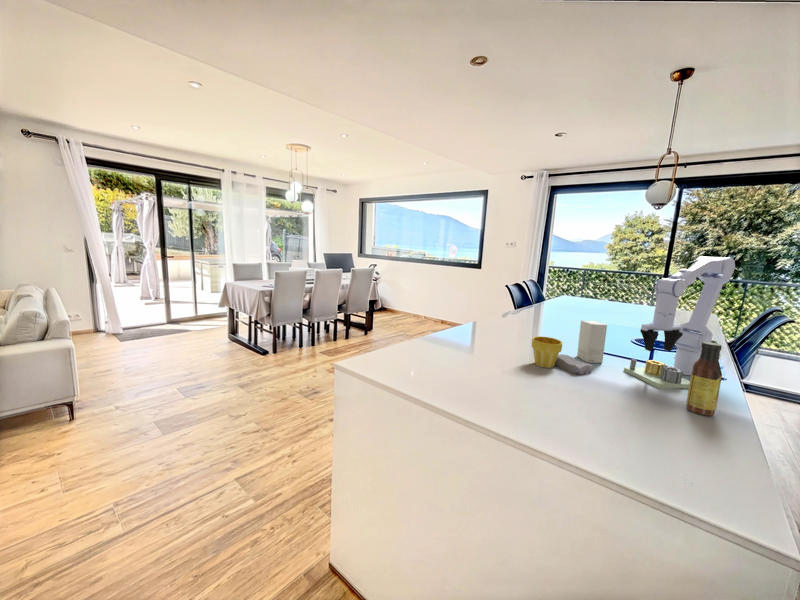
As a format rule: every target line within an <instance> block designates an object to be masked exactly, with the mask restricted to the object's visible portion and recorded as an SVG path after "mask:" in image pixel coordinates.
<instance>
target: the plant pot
mask: <svg viewBox="0 0 800 600" xmlns="http://www.w3.org/2000/svg"><path fill="white" fill-rule="evenodd" d="M531 348H532V349H533V356H534V357H533V358H534V364H535V365H536V366H538V367H540V368H546V369H552V368H554V366H555V362H556V359H557V357H558V355H560V353H561V352H562V350H563V342H562V341H561V340H560V339H558V338H554V337H549V336H542V335H541V336H534V337H532V341H531Z"/></svg>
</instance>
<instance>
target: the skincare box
mask: <svg viewBox="0 0 800 600" xmlns="http://www.w3.org/2000/svg"><path fill="white" fill-rule="evenodd" d="M579 327H580V328H579V335H578V336H579V337H578V343H577V345H578V346H577V355H576V357H578V358H580V359H581V360H583V362H586V363H589V364H591V363H592V364H603V361H604V352H605V346H606V345H605V344H606V339H607V338H606V337H607V329H608V324H605V323H602V322H599V321H597V320H580V326H579Z"/></svg>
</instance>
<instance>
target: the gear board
mask: <svg viewBox="0 0 800 600" xmlns="http://www.w3.org/2000/svg"><path fill="white" fill-rule="evenodd" d="M636 365H637V359H633V358H631V359H630V365H629V366H628V367H624V368H623V372H624V371H625V372H624V373H626V372H627V373H626V374H628V373H629V374H628V375H630V374H631V376H632V375H633V377H634V376H635V378H636V377H637V378H636V379H638V378H639V380H640V379H641V381H642V380H643V381H642V382H644V381H645V383H647V384H649V385H650V386H652V387H655V388H656V389H659V388H660V389H661V388H662V389H664V390H665V389H667V390H669V389H670V390H671V389H673V388H677V389H678V388H684V389H689V385H690V380H688V379H686V378H683V377H682V380H681V383H679V384H676V383H669V382H667V381H663V380H662V379H660V376H661V375H658V376H656V375H653V374H649V373H647V372H645V367H637V366H636ZM669 370H673V371H675V370H676V368H674V367H670V369H669Z"/></svg>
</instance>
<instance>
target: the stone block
mask: <svg viewBox="0 0 800 600" xmlns="http://www.w3.org/2000/svg"><path fill="white" fill-rule="evenodd" d="M554 366H555V367H558V368H560V369H561V370H562V369H563V370H565V371H567V372H570V373H572V374H575V375H578V376H581V375H584V373H585V374H591V373H592V371H593V364H591V363H589V362H586V361H583V362H582V361H581V360H578V359H577V358H575V357H572V356H570V355H568V354H560V353H559V354H558V357H557V359H556V362H555V365H554Z"/></svg>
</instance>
